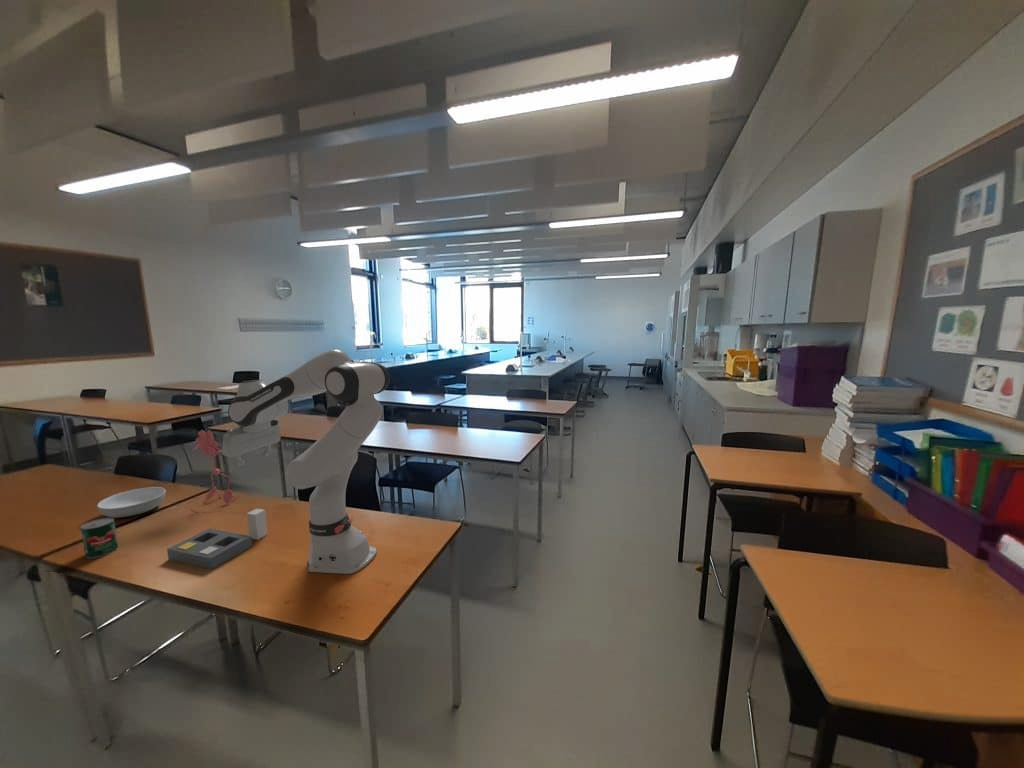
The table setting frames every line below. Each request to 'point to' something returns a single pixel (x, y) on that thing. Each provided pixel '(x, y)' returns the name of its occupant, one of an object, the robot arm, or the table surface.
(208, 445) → the figurine
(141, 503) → the serving bowl
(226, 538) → the socket block
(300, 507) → the table surface
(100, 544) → the canned tomato
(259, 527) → the plug
